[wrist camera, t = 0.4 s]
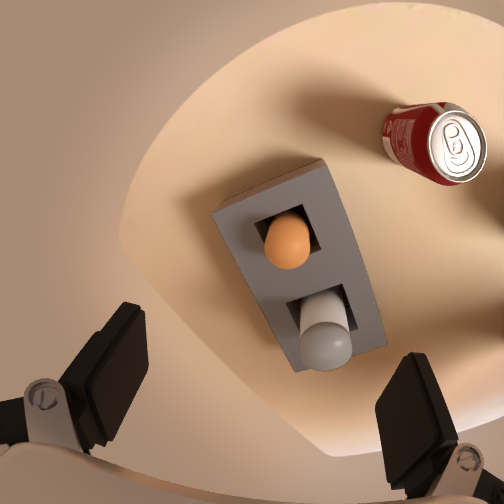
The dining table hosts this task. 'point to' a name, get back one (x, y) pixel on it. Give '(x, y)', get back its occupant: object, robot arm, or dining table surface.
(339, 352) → the cylinder
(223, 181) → the dining table surface
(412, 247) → the dining table surface
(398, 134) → the soda can
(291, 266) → the brown egg
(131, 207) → the dining table surface
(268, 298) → the housing
